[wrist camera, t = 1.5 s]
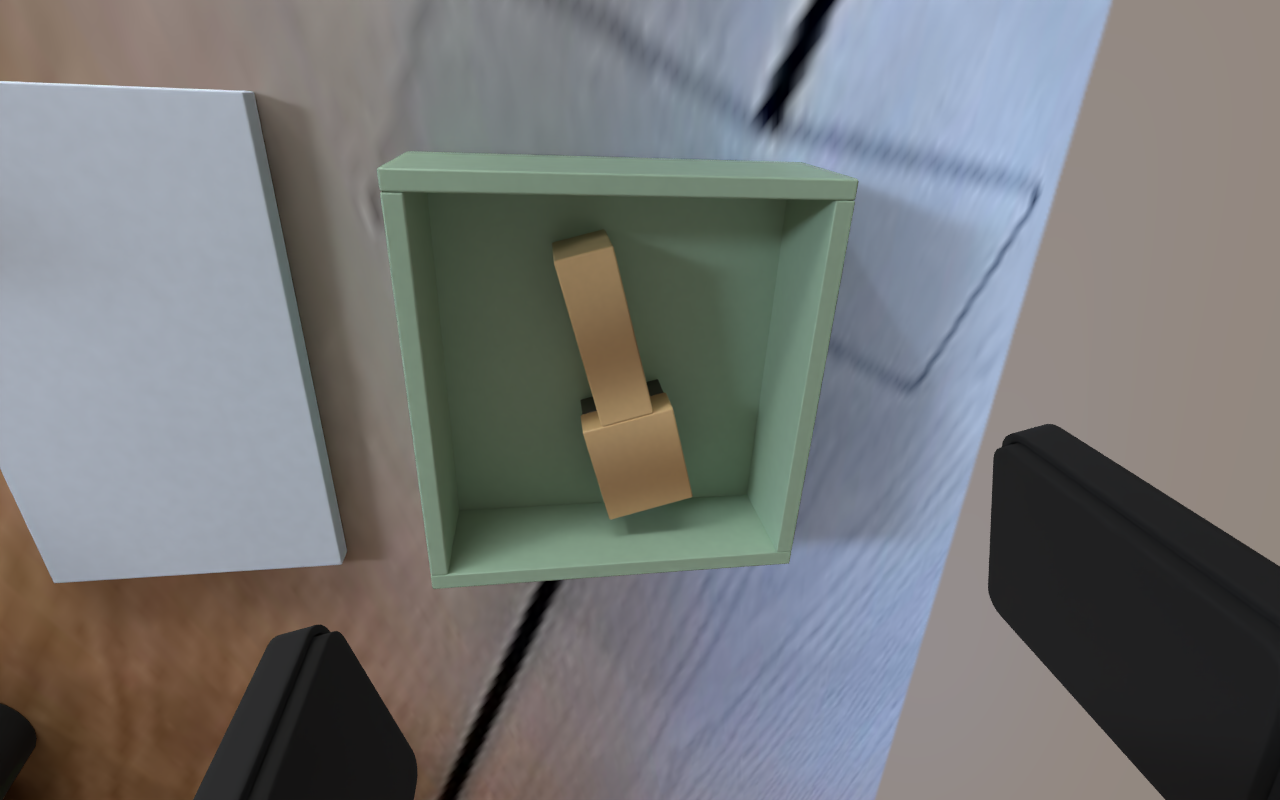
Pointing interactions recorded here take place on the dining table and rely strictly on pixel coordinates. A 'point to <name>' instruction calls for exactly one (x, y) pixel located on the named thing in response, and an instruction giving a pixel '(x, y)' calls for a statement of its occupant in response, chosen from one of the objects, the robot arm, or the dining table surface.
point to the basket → (666, 337)
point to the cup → (13, 746)
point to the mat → (153, 339)
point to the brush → (618, 385)
